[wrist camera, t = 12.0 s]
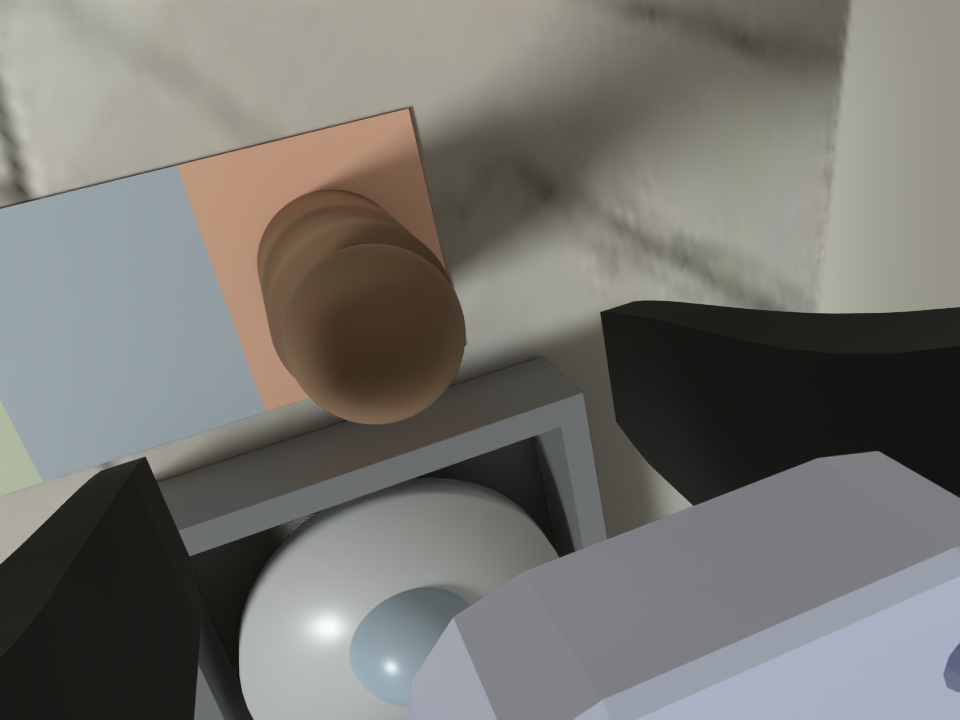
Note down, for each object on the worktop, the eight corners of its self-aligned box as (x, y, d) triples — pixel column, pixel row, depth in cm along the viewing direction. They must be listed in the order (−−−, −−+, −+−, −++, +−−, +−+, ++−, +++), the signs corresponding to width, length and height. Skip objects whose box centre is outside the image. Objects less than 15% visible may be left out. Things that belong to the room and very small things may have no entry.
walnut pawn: (419, 311, 22) (516, 427, 15) (282, 351, 21) (315, 493, 14) (386, 173, 21) (477, 229, 13) (236, 210, 20) (248, 291, 13)
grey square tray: (598, 658, 29) (636, 717, 27) (265, 798, 27) (269, 880, 24) (542, 356, 24) (582, 392, 21) (121, 494, 21) (107, 555, 19)
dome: (562, 650, 28) (612, 734, 25) (293, 761, 26) (305, 871, 22) (512, 413, 24) (563, 473, 20) (189, 523, 22) (183, 611, 18)
